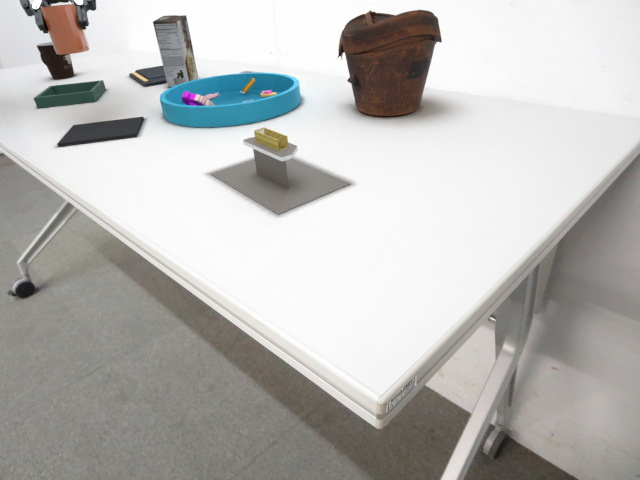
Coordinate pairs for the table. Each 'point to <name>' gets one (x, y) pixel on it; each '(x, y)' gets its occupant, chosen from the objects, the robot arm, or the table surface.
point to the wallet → (150, 76)
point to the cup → (65, 29)
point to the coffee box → (176, 49)
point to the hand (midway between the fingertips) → (63, 28)
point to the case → (389, 59)
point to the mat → (102, 131)
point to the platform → (277, 174)
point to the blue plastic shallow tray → (230, 99)
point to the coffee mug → (56, 61)
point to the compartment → (70, 94)
